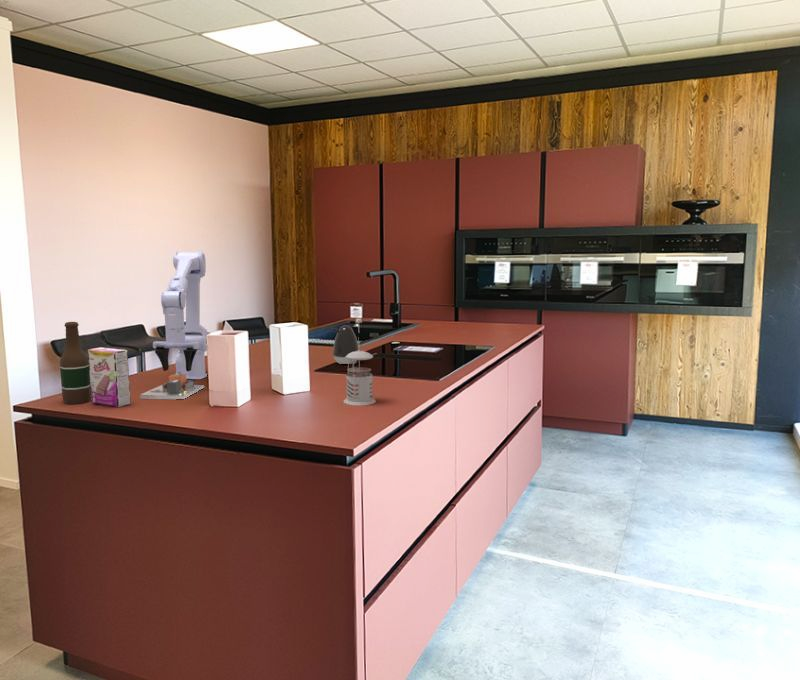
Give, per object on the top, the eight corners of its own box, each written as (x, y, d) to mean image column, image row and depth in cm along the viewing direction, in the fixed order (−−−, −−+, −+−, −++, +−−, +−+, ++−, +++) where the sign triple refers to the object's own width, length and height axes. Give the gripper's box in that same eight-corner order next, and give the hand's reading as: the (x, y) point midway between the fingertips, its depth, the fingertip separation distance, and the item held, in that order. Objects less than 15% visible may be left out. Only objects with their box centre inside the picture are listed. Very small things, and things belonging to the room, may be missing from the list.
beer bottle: (97, 399, 198) (91, 321, 195) (77, 405, 191) (71, 324, 188) (77, 397, 201) (71, 320, 197) (56, 403, 194) (50, 323, 190)
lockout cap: (169, 388, 208) (168, 375, 207) (175, 385, 212) (174, 372, 211) (181, 388, 207) (180, 375, 207) (186, 386, 211) (186, 372, 211)
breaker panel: (140, 398, 199) (139, 389, 199) (163, 387, 214) (162, 379, 214) (183, 399, 198) (183, 391, 197) (204, 388, 213) (203, 380, 212)
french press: (351, 406, 189) (349, 321, 185) (336, 398, 199) (334, 317, 195) (381, 403, 193) (381, 319, 190) (365, 395, 203) (364, 315, 200)
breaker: (167, 392, 201) (166, 381, 201) (172, 390, 205) (171, 379, 204) (176, 392, 201) (175, 382, 200) (181, 390, 204) (180, 379, 204)
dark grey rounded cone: (332, 361, 261) (331, 324, 259) (358, 361, 262) (358, 323, 260) (332, 366, 251) (332, 327, 249) (359, 365, 252) (359, 326, 250)
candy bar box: (90, 404, 193) (86, 349, 190) (104, 400, 197) (100, 346, 195) (118, 408, 188) (114, 351, 186) (131, 404, 193) (128, 349, 190)
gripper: (147, 329, 204) (149, 372, 206) (191, 330, 202) (193, 373, 204) (157, 326, 210) (160, 368, 213) (200, 327, 209) (203, 369, 211)
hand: (177, 370), depth 209 cm, fingers open, 7 cm apart
